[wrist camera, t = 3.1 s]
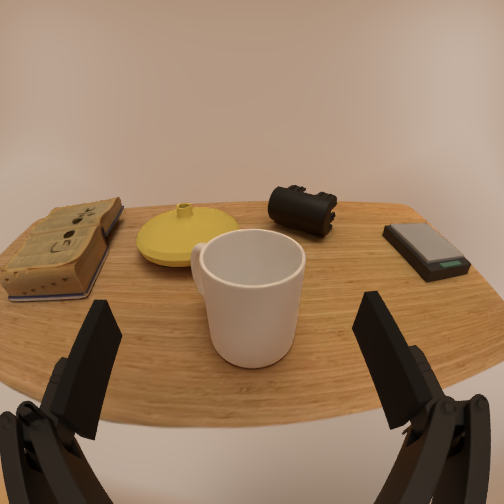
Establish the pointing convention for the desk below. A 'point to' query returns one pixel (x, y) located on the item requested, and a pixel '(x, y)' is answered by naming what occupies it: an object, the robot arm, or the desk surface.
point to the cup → (250, 293)
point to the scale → (427, 251)
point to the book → (62, 253)
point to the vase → (181, 233)
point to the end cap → (302, 209)
